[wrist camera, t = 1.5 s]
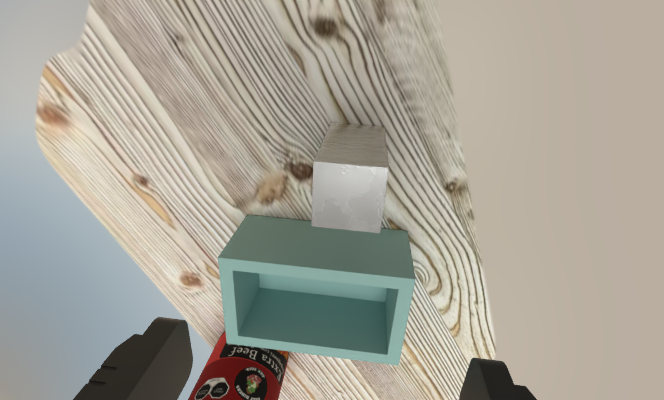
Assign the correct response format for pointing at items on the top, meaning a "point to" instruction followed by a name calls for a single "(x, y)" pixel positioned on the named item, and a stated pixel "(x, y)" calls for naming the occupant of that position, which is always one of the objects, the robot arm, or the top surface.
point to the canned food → (241, 373)
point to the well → (317, 289)
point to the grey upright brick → (350, 178)
